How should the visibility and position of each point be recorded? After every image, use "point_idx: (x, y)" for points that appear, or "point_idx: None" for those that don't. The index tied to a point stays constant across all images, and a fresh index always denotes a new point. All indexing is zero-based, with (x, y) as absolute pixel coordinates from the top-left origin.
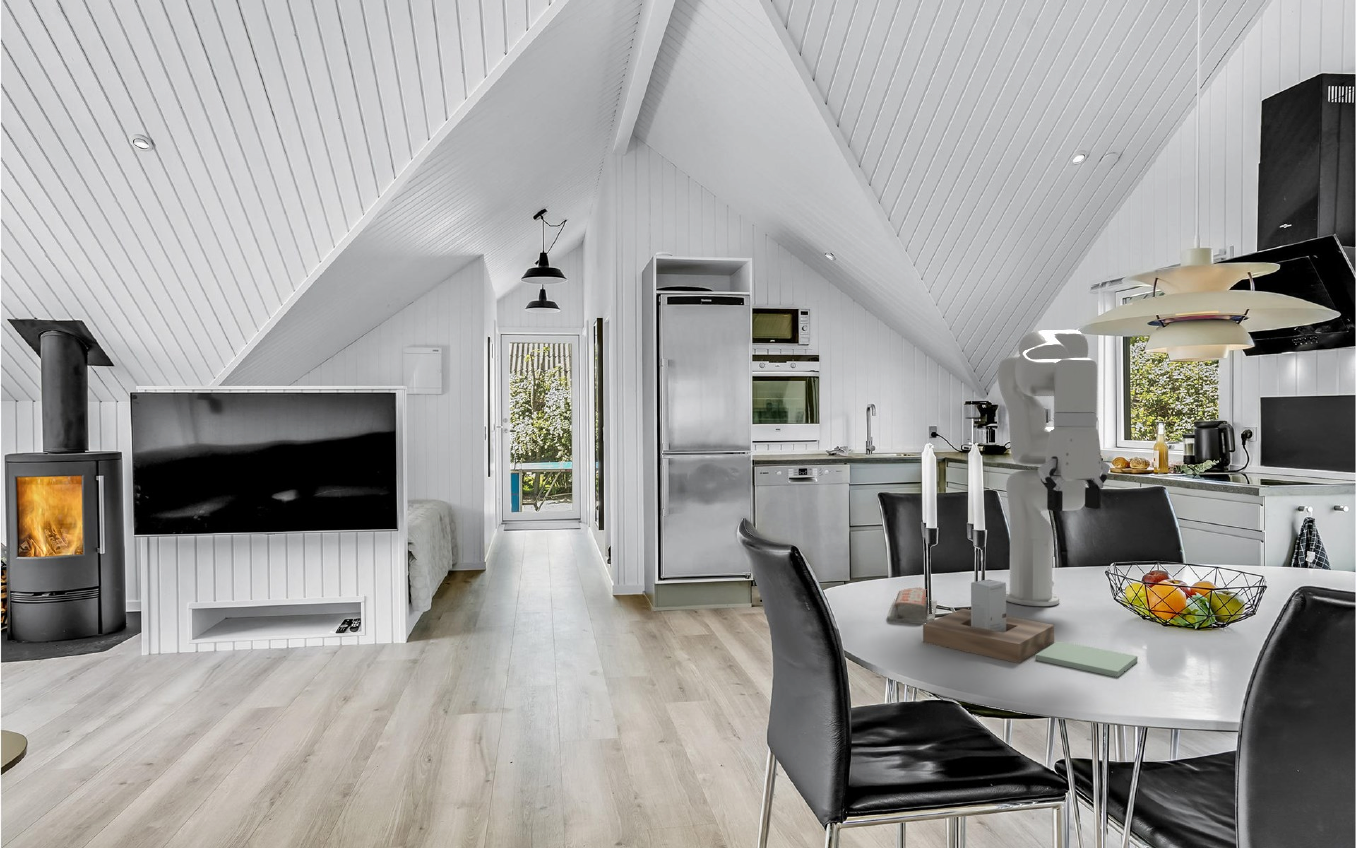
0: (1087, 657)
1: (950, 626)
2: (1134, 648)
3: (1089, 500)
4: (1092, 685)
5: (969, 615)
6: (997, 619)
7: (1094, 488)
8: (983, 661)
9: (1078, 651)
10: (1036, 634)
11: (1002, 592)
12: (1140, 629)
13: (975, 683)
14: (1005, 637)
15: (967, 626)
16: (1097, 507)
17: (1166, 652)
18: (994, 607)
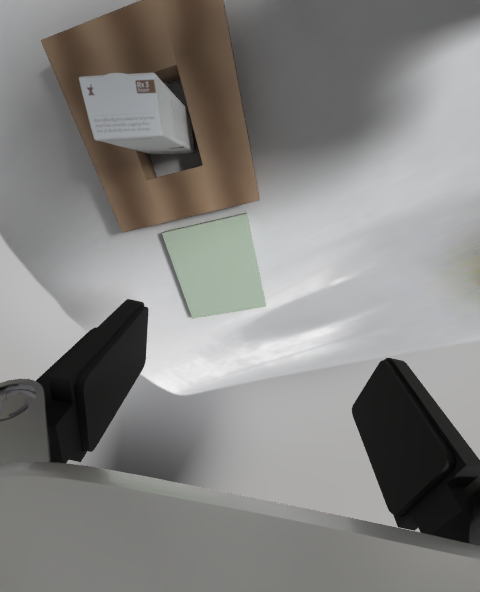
0: (209, 277)
1: None
2: (321, 276)
3: (385, 408)
4: (149, 312)
5: (180, 42)
6: (156, 149)
7: (415, 510)
8: (96, 194)
9: (223, 257)
10: (184, 217)
11: (155, 140)
12: (441, 235)
13: (35, 242)
14: (128, 199)
15: None
16: (355, 413)
17: (333, 305)
18: (137, 146)
